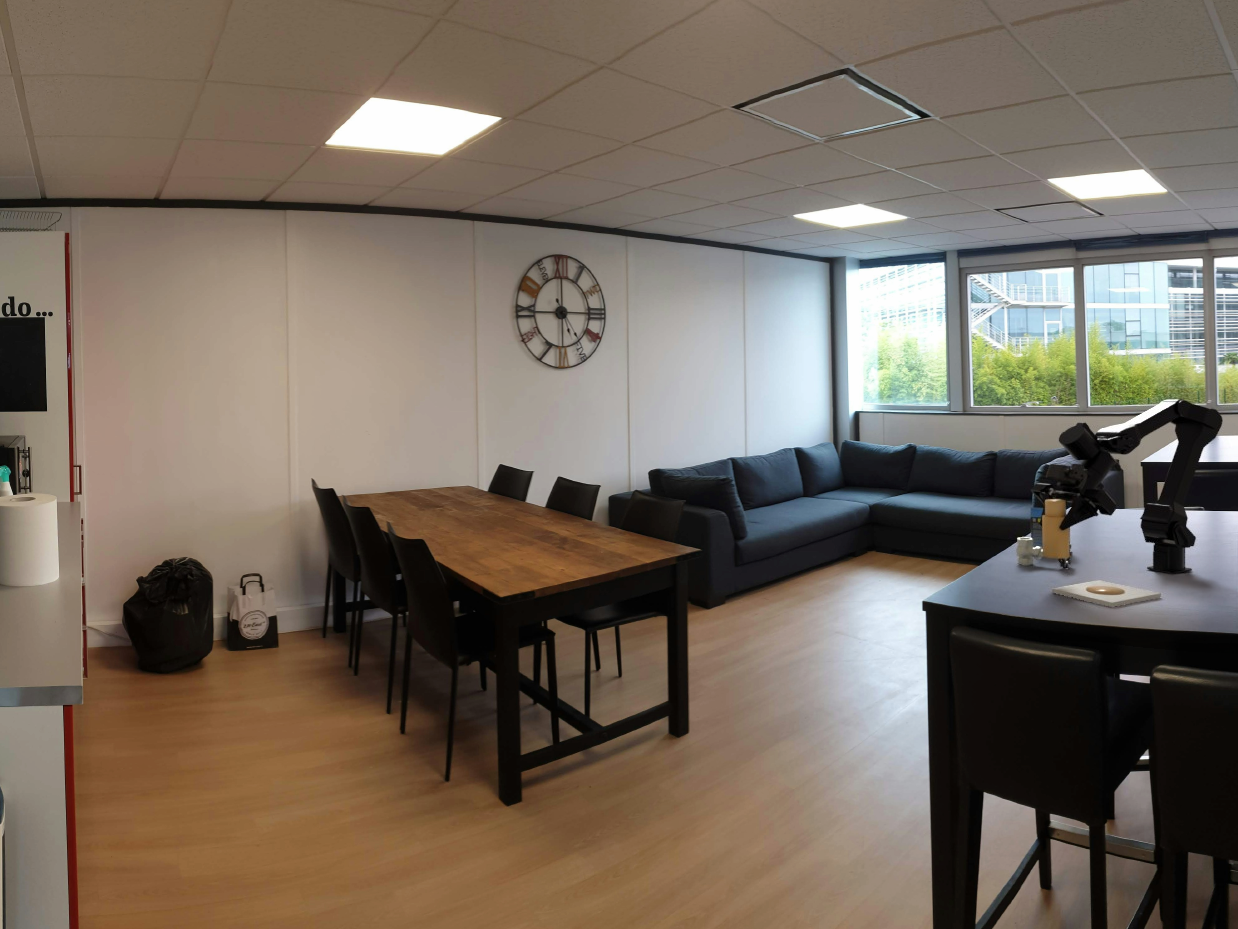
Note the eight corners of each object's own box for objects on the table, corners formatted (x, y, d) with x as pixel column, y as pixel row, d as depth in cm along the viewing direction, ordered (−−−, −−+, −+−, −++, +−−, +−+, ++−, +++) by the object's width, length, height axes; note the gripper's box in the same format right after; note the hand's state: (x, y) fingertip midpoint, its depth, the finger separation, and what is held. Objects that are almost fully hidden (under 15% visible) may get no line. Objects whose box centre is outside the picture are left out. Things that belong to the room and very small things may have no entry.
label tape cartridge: (1071, 553, 212) (1070, 506, 211) (1067, 555, 209) (1067, 508, 208) (1034, 550, 218) (1033, 505, 217) (1030, 552, 215) (1029, 507, 214)
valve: (1011, 565, 201) (1063, 571, 192) (1011, 539, 201) (1063, 544, 192) (1021, 561, 206) (1072, 566, 197) (1021, 535, 205) (1072, 540, 196)
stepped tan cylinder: (1050, 552, 182) (1049, 498, 181) (1073, 555, 178) (1073, 499, 177) (1038, 556, 179) (1037, 501, 178) (1062, 559, 175) (1061, 502, 174)
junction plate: (1098, 584, 178) (1098, 579, 178) (1160, 598, 165) (1160, 592, 165) (1052, 593, 173) (1051, 587, 173) (1111, 607, 160) (1111, 601, 160)
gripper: (1036, 448, 186) (998, 499, 184) (1105, 452, 168) (1063, 509, 166) (1064, 479, 189) (1027, 530, 187) (1135, 486, 171) (1094, 542, 169)
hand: (1050, 527), depth 177 cm, fingers closed on stepped tan cylinder, 5 cm apart
